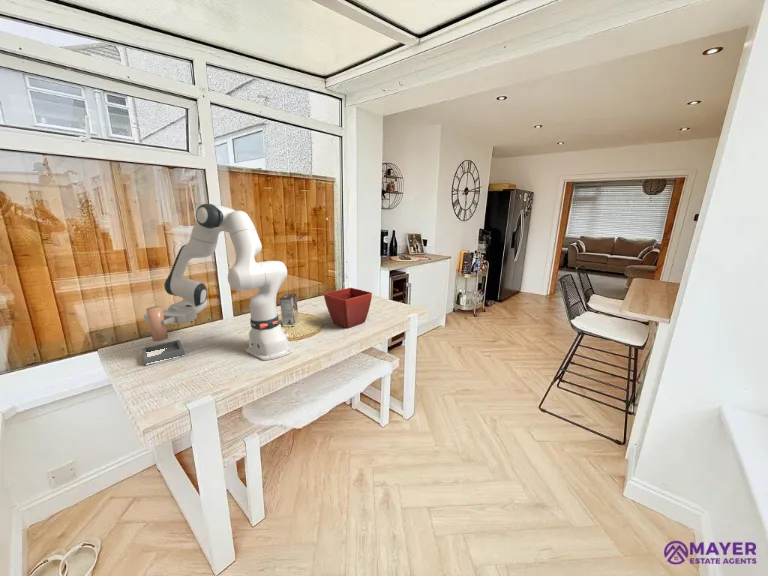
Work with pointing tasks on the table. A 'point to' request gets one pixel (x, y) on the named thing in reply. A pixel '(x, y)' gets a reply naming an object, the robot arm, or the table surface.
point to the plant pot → (348, 306)
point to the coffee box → (289, 309)
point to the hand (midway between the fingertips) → (155, 322)
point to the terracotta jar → (157, 323)
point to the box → (172, 351)
